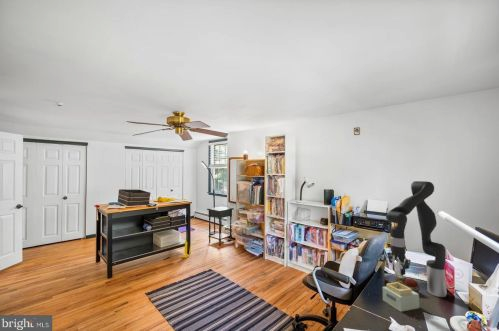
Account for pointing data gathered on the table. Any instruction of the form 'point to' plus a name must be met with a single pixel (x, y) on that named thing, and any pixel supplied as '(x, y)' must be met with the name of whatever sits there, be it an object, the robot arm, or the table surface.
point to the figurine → (405, 283)
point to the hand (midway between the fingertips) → (398, 272)
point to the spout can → (397, 269)
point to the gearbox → (400, 296)
